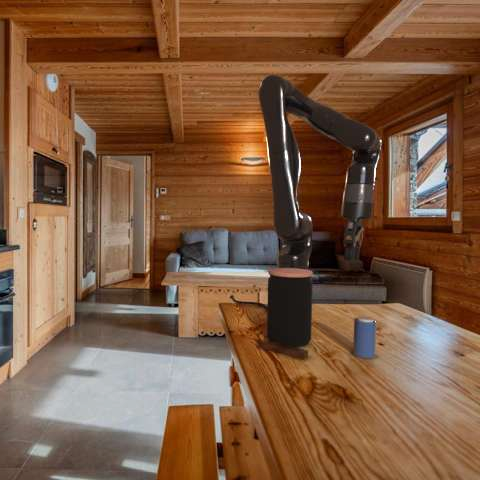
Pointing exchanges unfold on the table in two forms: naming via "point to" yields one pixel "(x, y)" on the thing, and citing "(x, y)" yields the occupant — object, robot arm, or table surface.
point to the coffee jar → (289, 306)
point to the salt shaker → (364, 337)
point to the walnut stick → (283, 349)
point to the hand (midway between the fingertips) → (351, 260)
